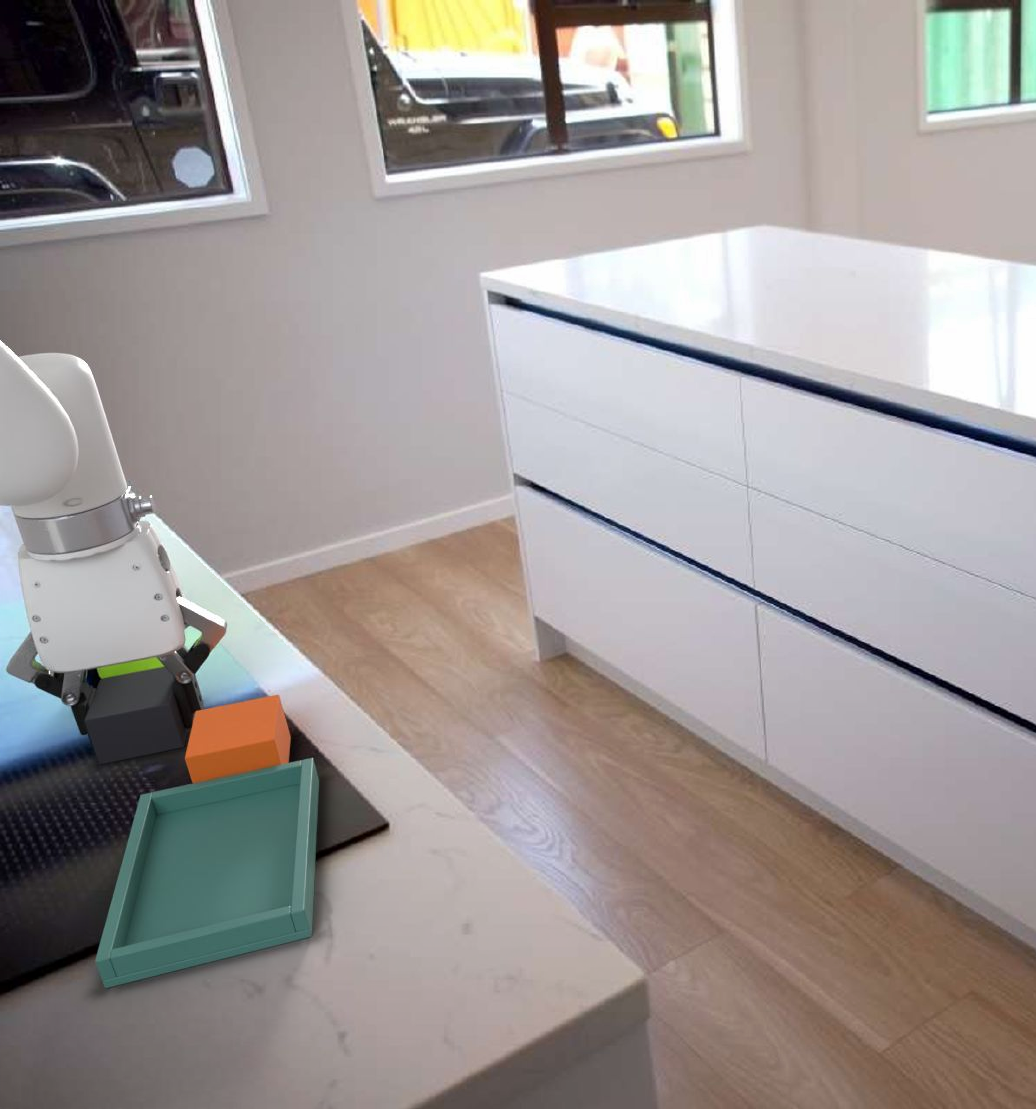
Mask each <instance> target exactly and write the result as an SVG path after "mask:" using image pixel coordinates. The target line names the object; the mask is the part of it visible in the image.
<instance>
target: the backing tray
mask: <svg viewBox="0 0 1036 1109" xmlns="http://www.w3.org/2000/svg"><path fill="white" fill-rule="evenodd" d="M319 791H320V779H319V775H318V771H317V768H316V764H315V760H314V758H313V757H311V758H305V759H302V760H301V759H300V760H296V761H290V762H288V763H286V764H281V765H277V766H272V767H268V768H263V769H258V770H254V771H249V772H244V773H240V774H235V775H230V776H226V777H221V778H216V779H212V780H207V781H202V782H198V783H189V784H185V785H180V786H175V787H171V788H165V789H162V790H161V789H160V790H156V791H152V792H148V793H143V794H140V795H139V800H138V802H137V806H136V811H135V813H134V817H133V821H132V825H131V829H130V832H129V836H128V839H127V843H126V847H125V849H124V850H125V851H124V854H123V858H122V862H121V865H120V868H119V872H118V875H117V880H116V883H115V887H114V891H113V895H112V898H111V900H110V901H111V902H110V905H109V909H108V913H107V915H106V916H107V917H106V919H105V923H104V927H103V930H102V934H101V938H100V942H99V945H98V949H97V953H96V956H95V959H94V963H95V966H96V968H97V971H98V974H99V976H100V979H101V981H102V984H103V987H104V988H105V989H109V988H114V987H116V986H121V985H124V984H129V983H132V982H137V981H141V980H145V979H149V978H152V977H157V976H161V975H164V974H169V973H172V972H176V971H180V970H185V969H188V968H192V967H195V966H201V965H204V964H208V963H212V962H216V961H221V960H223V959H224V960H225V959H228V958H232V957H236V956H240V955H243V954H247V953H251V952H256V951H260V950H264V949H267V948H272V947H275V946H279V945H282V944H287V943H291V942H295V941H298V940H303V939H308V938H311V937H312V936H313V919H314V918H313V917H314V896H315V874H316V854H317V837H318V836H317V835H318V833H317V832H318V812H319Z"/></svg>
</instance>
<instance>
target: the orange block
mask: <svg viewBox="0 0 1036 1109" xmlns="http://www.w3.org/2000/svg"><path fill="white" fill-rule="evenodd" d="M283 707H284V706H283V704H282V701H281V697H280V695H279V694H274V695H269V696H264V697H259V698H254V699H250V700H245V701H239V702H235V703H229V704H223V705H219V706H213V707H209V708H205V709H204V708H203V710H199V711H196V712H195V716H194V720H193V725H192V728H190V733H189V737H188V742H187V747H186V752H185V756H184V760H185V764H186V767H187V770H188V773H189V776H190V779H191V782H192V783H191V784H193V783H198V782H202V781H207V780H212V779H216V778H221V777H226V776H230V775H235V774H240V773H244V772H249V771H254V770H258V769H263V768H268V767H272V766H277V765H281V764H286V763H290V750H291V749H290V748H291V739H292V736H291V733H290V730H289V726H288V722H287V719H286V716H285V711H284V708H283Z"/></svg>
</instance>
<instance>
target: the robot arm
mask: <svg viewBox="0 0 1036 1109" xmlns="http://www.w3.org/2000/svg"><path fill="white" fill-rule="evenodd" d="M0 506H4V507H10V509H11V511H12V514H13V517H14V519H15V523H16V525H17V526H16V527H17V528H18V531H19V534H20V537H21V539H22V542H23V544H22V545H21V546H20V547H19V549H18V552H17V563H18V572H19V573H18V574H19V579H20V586H21V592H22V598H23V602H24V608H25V612H26V616H27V621H28V625H29V628H30V632H29V633H28V634H27V636H26V637H25V638H24V640H23V642H22V643H21V644H20V645H19V647H18V648H17V649H16V651H15V653H14V654H13V655H12V657H11V658H10V659H9V661H8V662H7V666H6V668H5V671H6V672H7V674H8V675H10V676H12V677H15V678H17V679H20V680H22V681H23V682H26V683H29V684H33V685H34V686H35V687H36V689H38V690H40V691H43V692H45V693H47V694H49V695H51V696H53V697H56V698H58V699H60V701H61V702H62V704H63V705H65V706H68V707H70V709H71V713H72V714H73V717H74V720H75V723H76V726H77V728H78V731H79V734H80V735H81V736H87V737H88V740H89V743H90V746H91V748H92V749H94V747H93V744H92V741H91V739H90V736H89V733H88V730H87V727H86V724H85V722H84V721H85V718H86V716H87V713H88V710H89V708H90V706H91V703H92V700H93V698H94V695H95V692H96V689H97V688H96V687H94V686H93V685H89V683H86V682H87V676H88V671H90V670H95V669H96V670H97V668H101V667H107V666H112V665H117V664H123V663H128V662H133V661H138V660H144V659H149V658H154V657H157V659H158V660H159V661H160V662H161V663H162V664H163V665H164V666H165V667H166V668H167V670H168V671H169V672H170V673H171V674H172V675H173V677H174V682H173V686H172V691H173V692H174V695H175V698H176V702H177V705H178V708H179V711H180V714H181V718H182V721H183V724H184V727H185V728H186V727H187V729H190V730H191V729H192V725H193V720H194V716H195V712H196V711H199V710H204V706H205V705H204V699H203V696H202V692H201V689H200V685H199V683H198V680H197V677H196V674H197V672H198V671H199V670H200V668H201V667H202V666H203V665H204V663H205V662H206V660H207V659H208V658H209V656H210V654H211V653H212V651H213V650H214V649H215V648H216V647H217V646H218V644H219V642H220V641H221V640H222V639H223V637H224V636H225V635H226V633H227V629H228V622H227V621H226V620H225V619H223V618H221V617H220V616H218V615H215V614H213V613H212V612H210V611H208V610H206V609H204V608H202V607H200V606H198V605H197V604H195V603H193V602H192V601H191V602H190V601H189V600H187V599H186V595H185V593H184V590H183V588H182V585H181V583H180V580H179V578H178V575H177V573H176V570H175V567H174V565H173V563H172V561H171V558H170V556H169V554H168V551H167V549H166V547H165V546H164V543H163V542H162V539H161V538H160V536H159V534H158V532H157V530H156V529H155V527H154V525H153V523H151V522H150V521H147V520H141V518H145V517H146V516H148V515H153V514H156V513H157V507H156V506H157V505H156V503H155V499H154V497H153V496H152V495H149V496H141V495H136V494H135V492H133V491H132V488H131V486H128V484H127V481H126V477H125V474H124V471H123V468H122V464H121V461H120V457H119V455H118V451H117V448H116V445H115V442H114V439H113V435H112V432H111V429H110V424H109V422H108V419H107V414H106V413H105V410H104V406H103V403H102V399H101V396H100V393H99V390H98V386H97V384H96V381H95V378H94V375H93V373H92V370H91V368H90V367H89V365H88V363H86V361H84V360H83V359H82V358H80V357H78V356H77V355H73V354H70V353H62V352H44V353H43V352H42V353H33V354H26V355H21V356H18V355H16V354H15V352H13V351H12V349H10V348H9V347H8V346H7V345H6V344H5V343H4V342H2V341H1V340H0ZM189 627H191V628H194V629H196V630H197V631H199V632H200V633H201V634H200V636H199V638H197V639H196V640H195V641H194V642H193V644H192V645H191V646H190V648H189V649H188V648H187V646H186V645H185V644H186V640H187V639H186V634H185V630H186V629H188V628H189ZM37 655H38V658H39V660H40V662H38V661H37V660H36V657H37Z"/></svg>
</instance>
